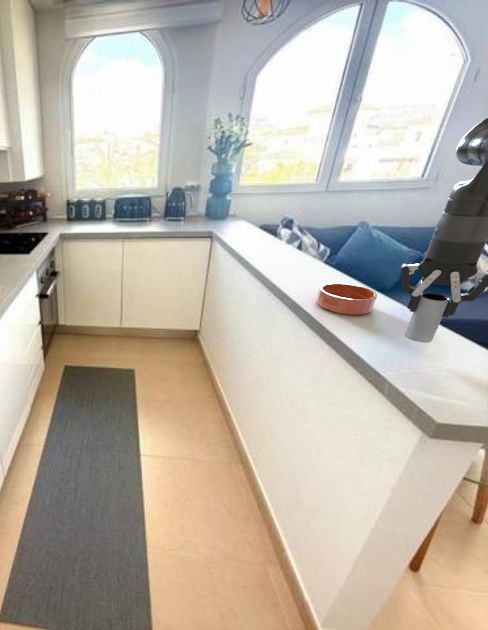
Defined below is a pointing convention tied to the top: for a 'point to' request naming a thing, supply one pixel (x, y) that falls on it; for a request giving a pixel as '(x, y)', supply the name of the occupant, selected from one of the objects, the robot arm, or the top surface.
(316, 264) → the top surface
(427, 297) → the grey cylinder
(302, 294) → the top surface
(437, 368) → the top surface
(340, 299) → the bowl
